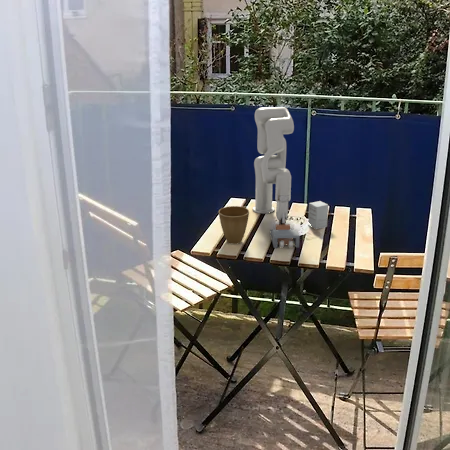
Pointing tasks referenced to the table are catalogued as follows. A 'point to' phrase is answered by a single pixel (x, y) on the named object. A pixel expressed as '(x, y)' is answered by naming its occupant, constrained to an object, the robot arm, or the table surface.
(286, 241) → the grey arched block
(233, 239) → the plant pot
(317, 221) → the supplement box
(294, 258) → the table surface
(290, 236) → the bridge
